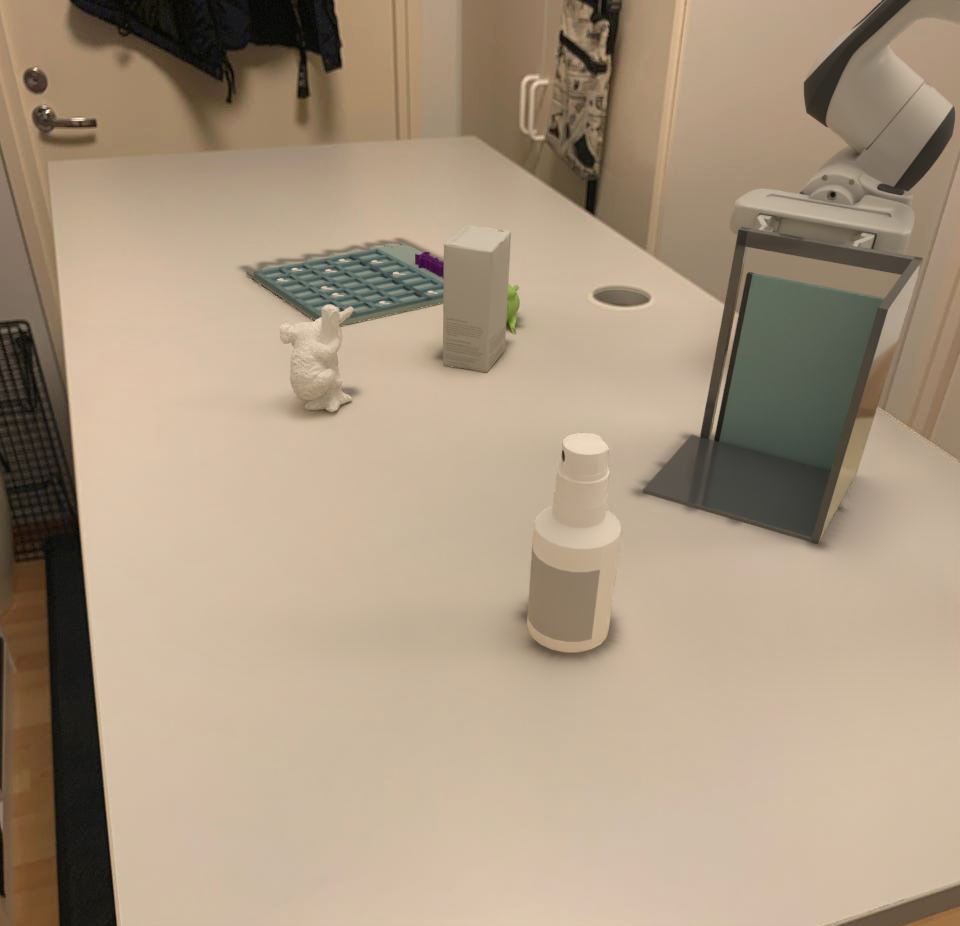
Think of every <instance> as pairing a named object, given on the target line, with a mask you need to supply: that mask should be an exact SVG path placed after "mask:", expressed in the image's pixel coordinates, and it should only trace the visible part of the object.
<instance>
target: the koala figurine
mask: <svg viewBox="0 0 960 926" xmlns="http://www.w3.org/2000/svg"><path fill="white" fill-rule="evenodd" d="M339 311H340V310H339V308H338V307H335V306H334V305H330V304H329V305H325V306H324V307H323V308H321V312H322V317H320V318H318V319H316V320H315V321H314V320H312V321H306V322H305V321H303V322H302V321H301V322H297V323H294V324H293V325H292V324H290V323H288V322H283V323H282V324H281V325H280V327H279V337H280V341H281V342H282V343H283V344H285V345H288V344H291V346H292V348H293V349H292V354H291V356H290V357H291V358H290V370H289V371H290V372H289V373H290V375H289V381H290V385H291V389H292V391H293V393H294V394H295V395H296V397H298V398H299V399H301V400H303V401H306V403H305V405H304V409H305V410H306V411H320V410H326V411H327V412H329V413H334V412H336V411H338V410H339V408H340V406H342V405H344V404H346V403H350V402H352V401H353V397H352V396H351V395H350V394H347V393H345V392H343V390H342V386H343V385H342V384H343V380H342V377H341V373H340V370H339V369H340V367H339V357H338V351H339V350H340V348H341V345H342V341H343V332H342V329H341V327H339V325H340V324H341V323H343V321H344V320H345V319H346V318H348V317H349V316H350V315H351V314H352V313H353V311H354V309H353V308H352V307H349V308H347V309H345V310H344V311H342V312H339Z"/></svg>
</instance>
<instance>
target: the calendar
mask: <svg viewBox="0 0 960 926" xmlns="http://www.w3.org/2000/svg"><path fill="white" fill-rule="evenodd" d="M280 264H281V265H280V266H263V268H262V270H256V271H253V272H252V271H248V270H245V274H246V275H247V276H248V277H250V278H251V279H253V280H254V282H256V281H257V282H258V284H259V283H260V284H261V286H262V285H263V286H264V288H265V287H266V288H267V289H266V288H265V289H266V290H268V289H269V290H270V291H269V290H268V291H269V292H271V291H272V292H273V293H272V292H271V293H272V294H274V293H275V294H276V295H275V294H274V295H275V296H277V295H278V296H279V297H278V296H277V297H278V298H280V297H281V298H282V299H281V298H280V299H281V300H283V299H284V300H285V301H284V300H283V301H284V302H286V301H287V302H288V303H287V302H286V303H287V304H288V305H290V304H291V305H290V306H291V307H293V306H294V307H295V308H294V307H293V308H294V309H296V308H297V309H298V310H297V309H296V310H297V311H299V310H300V311H301V313H302V312H303V313H304V314H303V313H302V314H303V315H305V314H306V315H307V316H306V315H305V316H306V317H308V316H309V317H310V318H309V317H308V318H309V319H311V318H312V319H313V320H312V319H311V320H312V321H314V320H316V319H318V318H320V317H322V312H321V308H323V307H324V306H325V305H329V304H330V305H334V306H335V307H338V308H339V310H340V311H339V312H342V311H344V310H345V309H347V308H349V307H352V308H353V309H354V311H353V313H352V314H351V315H350V316H349V317H348V318H346V319H345V320H344V321H343V323H341V324H340V325H339V326H341V327H343V326H342V325H346V324H350V325H352V324H351V323H354V324H356V323H355V322H359V321H363V322H365V321H364V320H368V319H372V320H374V319H373V318H376V319H378V318H377V317H381V318H383V317H382V316H385V317H387V316H386V315H390V314H394V315H396V314H395V313H398V314H400V313H399V312H403V313H405V312H404V311H407V312H409V311H408V310H412V311H414V310H413V309H416V310H418V309H417V308H421V307H425V308H427V307H426V306H429V307H431V306H430V305H434V306H436V305H435V304H438V305H440V304H439V303H443V291H444V260H440V259H439V258H438V257H434V256H433V255H431V252H430V251H423V252H422V251H421V250H419V249H416V248H414V247H412V246H410V245H407V244H405V243H403V242H400V241H399V245H397V244H383V246H370V247H369V249H368V250H364V251H363V250H359V249H355V250H352V251H349V252H347V253H344V254H343V253H342V254H341V253H340V254H339V253H338V254H329V257H323V258H322V257H321V258H320V257H319V258H318V257H317V258H316V257H315V258H314V257H313V258H307V261H305V262H295V263H294V262H289V263H288V262H287V263H285V262H284V263H280ZM257 282H256V283H257ZM260 284H259V285H260ZM263 286H262V287H263ZM421 309H422V308H421ZM300 311H299V312H300ZM390 316H391V315H390ZM368 321H369V320H368ZM359 323H360V322H359ZM346 326H347V325H346Z"/></svg>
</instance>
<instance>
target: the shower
mask: <svg viewBox="0 0 960 926" xmlns="http://www.w3.org/2000/svg"><path fill="white" fill-rule="evenodd" d="M734 246H735V247H734V251H733V257H732V262H731V267H730V272H729V273H730V274H729V278H728V284H727V289H726V294H725V295H726V296H725V300H724V305H723V311H722V315H721V321H720V327H719V332H718V338H717V344H716V349H715V353H714V359H713V364H712V370H711V376H710V379H709V380H710V381H709V385H708V391H707V397H706V402H705V407H704V413H703V419H702V424H701V429H700V434H699V436H698V435H694V434H691V435H690V436H689V437H688V438H687V439H686V440H685V441H684V443H682V444H681V446H680V447H679V448H678V449H677V450H676V452H675V453H674V454H673V455H672V456H671V457H670V458H669V459H668V460H667V462H665V464H664V465H663V466H662V467H661V468H660V469H659V471H658V472H657V473H656V474H655V475H654V476H653V477H652V478H651V480H650V481H648V483H647V484H646V485H645V486H644V488H642V494H645V495H649V496H652V497H656V498H659V499H663V500H666V501H670V502H672V503H673V502H674V503H677V504H680V505H683V506H686V507H690V508H693V509H696V510H700V511H704V512H706V513H707V512H708V513H710V514H714V515H717V516H721V517H724V518H727V519H731V520H735V521H737V522H741V523H745V524H748V525H751V526H755V527H758V528H761V529H765V530H769V531H772V532H776V533H778V534H782V535H786V536H789V537H791V538H796V539H799V540H802V541H806V542H809V543H813V544H816V545H820V542H821V540H822V539H823V537H824V535H825V533H826V532H827V530H828V528H829V526H830V524H831V523H832V520H833V519H834V517H835V515H836V513H837V511H838V510H839V508H840V506H841V504H842V502H843V500H844V498H845V497H846V495H847V493H848V491H849V489H850V487H851V486H852V484H853V482H854V480H855V478H856V476H857V473H858V471H859V468H860V465H861V461H862V457H863V455H864V452H865V448H866V445H867V441H868V439H869V435H870V432H871V429H872V426H873V422H874V419H875V415H876V413H877V409H878V407H879V403H880V399H881V396H882V393H883V390H884V386H885V383H886V381H887V377H888V374H889V370H890V367H891V364H892V361H893V358H894V355H895V351H896V348H897V345H898V342H899V338H900V336H901V332H902V329H903V326H904V323H905V319H906V315H907V313H908V310H909V306H910V303H911V300H912V297H913V293H914V291H915V290H914V289H915V287H916V284H917V280H918V277H919V274H920V270H921V267H922V264H923V261H924V257H920V256H914V255H909V254H905V255H903V254H898V253H892V252H886V251H880V250H874V249H868V248H862V247H857V246H851V245H845V244H839V243H833V242H827V241H822V240H816V239H810V238H804V237H798V236H792V235H787V234H781V233H775V232H769V231H763V230H757V229H752V228H746V227H741V228H740V229H739V230H738V235H737V234H736V240H735V245H734ZM748 248H750V249H756V250H761V251H767V252H773V253H778V254H784V255H789V256H795V257H801V258H806V259H812V260H817V261H822V262H829V263H834V264H839V265H845V266H851V267H856V268H861V269H868V270H872V271H879V272H883V273H890V274H895V275H900V277H898V279H897V280H896V282H895V283H894V285H893V286H892V287H891V288H890V290H889V291H888V293H887V294H886V296H884V298H885V299H884V300H883V301H882V303H881V304H880V306H879V307H878V309H877V313H876V316H875V320H874V323H873V327H872V330H871V334H870V337H869V340H868V344H867V347H866V351H865V354H864V358H863V361H862V365H861V368H860V371H859V375H858V378H857V382H856V385H855V389H854V392H853V396H852V399H851V403H850V406H849V409H848V413H847V416H846V420H845V423H844V427H843V430H842V434H841V437H840V440H839V444H838V447H837V451H836V454H835V458H834V461H833V465H832V468H831V471H828V470H824V469H820V468H816V467H813V466H809V465H805V464H801V463H797V462H794V461H790V460H786V459H782V458H778V457H775V456H771V455H767V454H763V453H759V452H756V451H752V450H748V449H744V448H740V447H736V446H733V445H729V444H725V443H721V442H717V441H714V439H711V438H712V434H713V429H714V425H715V418H716V412H717V406H718V402H719V397H720V392H721V386H722V382H723V377H724V371H725V366H726V361H727V356H728V350H729V346H730V341H731V334H732V330H733V325H734V320H735V315H736V310H737V306H738V305H737V304H738V300H739V293H740V289H741V283H742V279H743V275H744V274H743V273H744V269H745V265H746V264H745V263H746V259H747V252H748Z"/></svg>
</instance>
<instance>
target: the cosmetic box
mask: <svg viewBox="0 0 960 926" xmlns="http://www.w3.org/2000/svg"><path fill="white" fill-rule="evenodd" d="M511 240H512V231H511V230H509V229H501V228H492V227H485V226H478V225H471V224H465V225H463V227H462V228H460V229H459V230H458V231H456V233H455V234H454V235H452V236H451V237H450V238H449V239H448V240H446V241H445V242H443V262H444V291H443V305H442V309H443V311H442V314H443V315H442V316H443V317H442V365H443V366H444V365H447V366H446V367H450V366H453V367H452V368H456V367H459V368H458V369H462V368H465V369H464V370H468V369H471V370H470V371H474V370H477V371H476V372H480V371H483V372H482V373H489V371H490V369H491V368H492V367H493V366H494V364H495V363H496V362H497V361H498V359H499V358H500V357H501V356H502V354H503V353H504V352H505V350H506V343H507V341H506V338H507V322H506V320H507V300H508V284H509V281H510V280H509V279H510V261H511V259H510V258H511V242H512V241H511Z"/></svg>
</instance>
